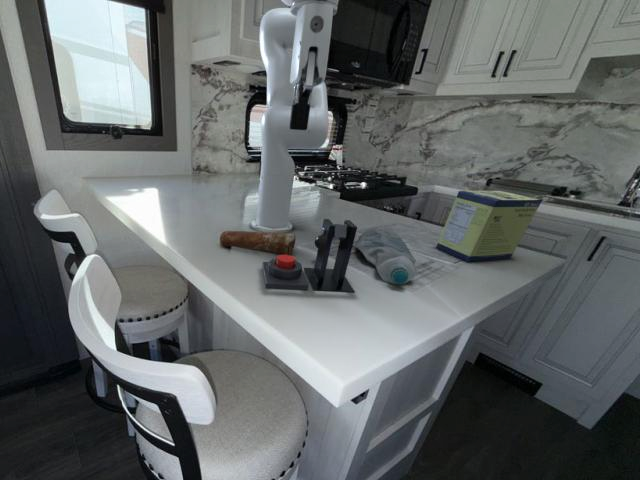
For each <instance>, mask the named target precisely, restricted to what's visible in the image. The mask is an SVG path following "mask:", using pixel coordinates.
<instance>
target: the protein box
mask: <svg viewBox="0 0 640 480" xmlns="http://www.w3.org/2000/svg"><path fill="white" fill-rule="evenodd" d="M542 202H543V199H541V198H537V197H532V196H527V195H522V194H518V193H515V192H511V191H510V192H509V191H505V190H459V191H458V192H457V195H456V197H455V200H454V202H453V205H452V207H451V209H450V211H449V215H448V217H447V218H446V222H445V224H444V226H443V228H442V229H443V230H442V231H441V234H440V236H439V239H438V241H437V243H436V246H435V248H436V249H439V250H440V251H443V252H445V253H447V254H450V255H452V256H454V257H456V258H458V259H460V260H463V261H464V262H467V263H469V262H483V261H485V262H486V261H497V260H499V261H500V260H509V259H511V258H512V257H513V255H514V253H515V252H516V250H517V247H518V246H519V244H520V242H521V240H522V239H523V237H524V235H525V233H526V231H527V229H528V227H529V225H530V224H531V222H532V220H533V219H534V216H535V214H536V213H537V211H538V209H539V207H540V206H541V204H542Z"/></svg>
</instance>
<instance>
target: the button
mask: <svg viewBox="0 0 640 480" xmlns="http://www.w3.org/2000/svg"><path fill="white" fill-rule="evenodd" d="M276 258H277V261H276V266H277V267H279V268H283V269H292V268H294V265H295V260H296V257H294V256H293V255H282V254H278V255H277V256H276Z"/></svg>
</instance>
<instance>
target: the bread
mask: <svg viewBox="0 0 640 480" xmlns="http://www.w3.org/2000/svg"><path fill="white" fill-rule="evenodd" d="M296 240H297V238H296V234H295V233H289V232H287V233H286V232H271V231H247V230H224V231H222V232H221V234H220V236H219V244H221V246H224V247H229V248H232V247H237V248H243V249H249V250H256V251H260V252H267V253H272V254H276V255H277V254H278V255H290V256H292V251H293V249H294V248H295V244H296Z"/></svg>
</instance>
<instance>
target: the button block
mask: <svg viewBox="0 0 640 480" xmlns="http://www.w3.org/2000/svg"><path fill="white" fill-rule="evenodd" d="M276 261H277V257H276V258H272V259H271V260H269V261H262V264H261V265H262V266H261V268H262V274H263V282H264V289H267V290H268V289H269V290H286V291H287V290H288V291H289V290H290V291H309V286H310V284H309V282H308V281H307V280H308V279H307V277H306V276H305V275H306V274H305V272H304V270H303V265H302V264H301V262H299V261H297V260H296V259H295V265H294V268H292V269H283V268H279V267H277V266H276Z"/></svg>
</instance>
